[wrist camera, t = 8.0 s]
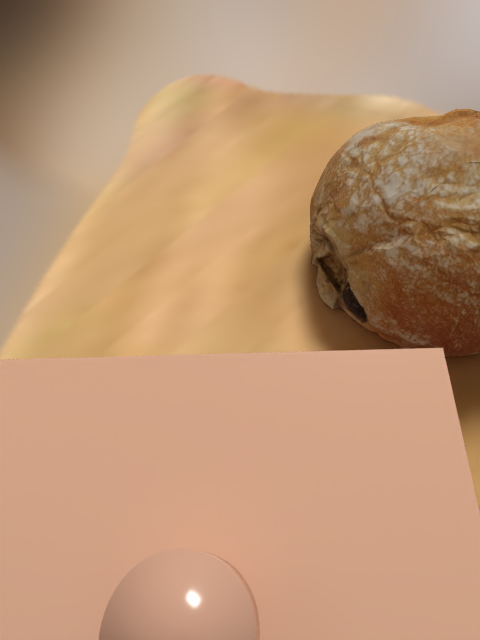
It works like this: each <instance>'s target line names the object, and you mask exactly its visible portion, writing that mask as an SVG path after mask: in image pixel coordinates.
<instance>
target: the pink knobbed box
mask: <svg viewBox="0 0 480 640" xmlns="http://www.w3.org/2000/svg"><path fill="white" fill-rule="evenodd" d="M0 640H480V512H479V507H478V503H477V498H476V494H475V489H474V485H473V480H472V476H471V471H470V467H469V462H468V458H467V454H466V449H465V445H464V440H463V436H462V431H461V427H460V422H459V418H458V413H457V409H456V404H455V400H454V395H453V391H452V386H451V382H450V377H449V373H448V368H447V364H446V360H445V355H444V351H443V348H417V349H380V350H343V351H305V352H268V353H231V354H194V355H156V356H119V357H82V358H45V359H7V360H0Z"/></svg>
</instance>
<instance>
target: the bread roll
mask: <svg viewBox="0 0 480 640" xmlns="http://www.w3.org/2000/svg"><path fill="white" fill-rule="evenodd" d="M310 222H311V224H310V241H311V249H312V253H313V255H312V264H313V265H315V266H317V267H318V275H317V278H316V287H317V290H318V292H319V295H320V297H321V299H322V301H323V302H324V303H326V304H327V305H328V306H329V307H330V308H332V309H333V310H334V309H336V308H340V309H342V310H344V311H345V312H346V313H347V314H348V315H349V316H350V317H351V318H353V319H354V320H355V321H357V322H358V323H359V324H361V325H362V326H364V327H365V328H366V329H368V330H370V331H372V332H374V333H377V334H378V335H379V336H380V337H381V338H382V339H385V340H387V341H389V342H391V343H394V344H396V345H398V346H400V347H401V348H403V349H417V348H443V351H444V355H445V357H456V356H466V355H473V354H477V353H480V112H478V111H475V110H471V109H456V110H453V111H451V112H449V113H446V114H444V115H443V116H426V117H411V118H406V119H400V120H390V121H385V122H380V123H377V124H374V125H371V126H369V127H367V128H365V129H363V130H361V131H359V132H357V133H356V134H355V135H353V136H352V137H351V138H350V139H349V140H348V141H347V142H346V143H345V144H344V145H343V146H342V147H341V148H340V149H339V150H338V151H337V152H336V153H335V155H334V156H333V157H332V158H331V159H330V161H329V162H328V164H327V166H326V168H325V170H324V171H323V173H322V175H321V178H320V180H319V182H318V184H317V186H316V189H315V191H314V194H313V196H312V199H311V204H310Z"/></svg>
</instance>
